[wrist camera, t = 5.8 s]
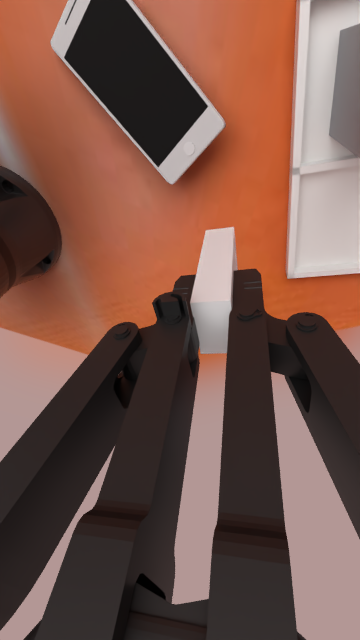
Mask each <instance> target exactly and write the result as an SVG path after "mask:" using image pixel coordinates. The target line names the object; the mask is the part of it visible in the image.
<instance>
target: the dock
mask: <svg viewBox="0 0 360 640" xmlns="http://www.w3.org/2000/svg"><path fill="white" fill-rule="evenodd" d="M354 273H360V0H297V3H296V28H295V52H294V77H293V102H292V127H291V151H290V176H289V201H288V225H287V250H286V275H287V279H290V278H303V277H316V276H328V275H341V274H354Z"/></svg>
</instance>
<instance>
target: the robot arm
mask: <svg viewBox="0 0 360 640" xmlns="http://www.w3.org/2000/svg"><path fill="white" fill-rule="evenodd" d="M61 245H62V241H61V233H60V229H59V225H58V222H57V220H56V218H55V216H54V214H53V212H52V210H51V208H50V207H49V205H48V204H47V202H46V201H45V200H44V198H43V197H42V196H41V195H40V194H39V192H38V191H37V190H36V189H35V188H34V187H33V186H32V185H30V184H29V183H28V182H27V181H26V180H24V179H23V178H22V177H20V176H19V175H17V174H16V173H14V172H12V171H11V170H9V169H7V168H4V167H2V166H0V298H1V297H2V296H3V295H4V294H5V293H6V292H7V291H8V290H9V289H10V288H11V287H13V286H16V285H18V284H21V283H24V282H26V281H29V280H31V279H34V278H37V277H39V276H41V275H43V274H44V273H46V272H47V271H48V270H50V268H51V267H52V266H53V265H54V264H55V263H56V261H57V260H58V258H59V255H60V252H61ZM152 304H153V307H154V310H155V313H156V317H157V322H156V324H154V325H151V326H148V327H145V328H141V329H138V326H137V325H136V324H135V323H131V322H124V323H120V324H117V325H116V326H114V327H112V328H111V329H110V330H109V331H108V332H107V333H106V335H105V336H104V337H103V338H102V339H101V341H100V342H99V343H98V344H97V345H96V347H95V348H94V349H93V350H92V352H91V353H90V354H89V355H88V357H87V358H86V359H85V360H84V361H83V363H82V364H81V365H80V366H79V367H78V369H77V370H76V371H75V372H74V373H73V375H72V376H71V377H70V378H69V379H68V381H67V382H66V383H65V384H64V386H63V387H62V388H61V389H60V390H59V392H58V393H57V394H56V395H55V397H54V398H53V399H52V400H51V401H50V403H49V404H48V405H47V406H46V407H45V409H44V410H43V411H42V412H41V414H40V415H39V416H38V417H37V418H36V419H35V421H34V422H33V423H32V424H31V426H30V427H29V428H28V429H27V430H26V432H25V433H24V434H23V435H22V437H21V438H20V439H19V440H18V442H17V443H16V444H15V445H14V446H13V447H12V449H11V450H10V451H9V452H8V454H7V455H6V456H5V457H4V458H3V460H2V461H1V462H0V630H1V629H2V628H3V627H4V626H5V624H6V623H7V622H8V621H9V619H10V618H11V617H12V616H13V615H14V613H15V612H16V610H17V609H18V608H19V606H20V605H21V604H22V602H23V601H24V599H25V598H26V597H27V595H28V594H29V592H30V591H31V589H32V588H33V586H34V584H35V583H36V581H37V579H38V578H39V576H40V575H41V573H42V571H43V570H44V568H45V566H46V564H47V563H48V561H49V559H50V558H51V556H52V554H53V552H54V551H55V549H56V547H57V545H58V544H59V542H60V540H61V538H62V537H63V535H64V533H65V531H66V530H67V528H68V526H69V524H70V523H71V521H72V519H73V518H74V516H75V514H76V512H77V511H78V509H79V507H80V505H81V504H82V502H83V500H84V498H85V497H86V495H87V493H88V491H89V490H90V488H91V486H92V484H93V483H94V481H95V479H96V477H97V476H98V474H99V472H100V470H101V469H102V467H103V465H104V464H105V462H106V460H107V458H108V456H109V455H110V453H111V451H112V450H113V448H114V446H115V449H114V452H113V455H112V458H111V461H110V464H109V467H108V470H107V473H106V476H105V479H104V482H103V485H102V488H101V491H100V494H99V497H98V500H97V502H96V504H95V506H94V507H93V509H92V510H90V511H89V512H87V513H85V514H84V515H83V516H82V517H81V519H80V520H79V522H78V523H77V525H76V528H75V530H74V532H73V534H72V538H71V540H70V543H69V546H68V548H67V551H66V554H65V557H64V560H63V562H62V565H61V568H60V571H59V573H58V576H57V579H56V582H55V584H54V587H53V590H52V593H51V596H50V598H49V601H48V604H47V607H46V610H45V612H44V615H43V618H42V620H41V621H40V622H39V623H38V624H37V625H36V626H35V627H34V629H33V630H32V631H31V632H30V633H29V634H28V635H27V636H26V637H25V639H24V640H306V639H305V638H304V637H302V635H301V634H299V633H298V632H297V629H296V618H295V608H294V598H293V587H292V577H291V566H290V557H289V548H288V541H287V536H286V530H285V522H284V511H283V500H282V490H281V480H280V467H279V457H278V446H277V435H276V424H275V414H274V402H273V392H272V380H271V372H275V373H279V374H282V375H285V379H286V381H287V383H288V385H289V388H290V390H291V392H292V394H293V396H294V398H295V401H296V403H297V405H298V407H299V409H300V411H301V413H302V416H303V418H304V420H305V422H306V424H307V426H308V429H309V431H310V433H311V435H312V437H313V439H314V442H315V443H316V446H317V448H318V450H319V452H320V454H321V456H322V459H323V461H324V463H325V465H326V467H327V470H328V472H329V474H330V476H331V478H332V480H333V483H334V485H335V487H336V489H337V491H338V493H339V495H340V498H341V500H342V502H343V504H344V506H345V508H346V511H347V513H348V515H349V517H350V519H351V521H352V523H353V526H354V528H355V530H356V532H357V534H358V536H359V539H360V364H359V363H358V361H357V360H356V359H355V357H354V356H353V355H352V353H351V352H350V351H349V349H348V348H347V347H346V345H345V344H344V343H343V342H342V340H341V339H340V338H339V337H338V335H337V334H336V332H335V331H334V330H333V328H332V327H331V326H330V324H329V323H328V322H327V320H325V319H324V318H323V317H322V316H320V315H317V314H315V313H308V312H304V313H297V314H294V315H292V316H291V317H290V318H288V320H287V321H286V320H281V319H277V318H274V317H272V316H270V315H269V314H267V313H266V311H265V309H264V303H263V292H262V282H261V274H260V273H259V272H258V271H257V270H256V269H246V270H238V269H237V257H236V245H235V233H234V227H229V228H221V229H213V230H206V232H205V237H204V242H203V246H202V251H201V255H200V260H199V264H198V269H197V273H196V275H186V276H181V277H180V278H179V279H178V280H177V281H176V282H175V285H174V288H173V291H172V292H168V293H164V294H162V295H159V296H158V297H157V298H155V299H154V301H153V302H152ZM199 348H200V352H201V354H213V353H227V363H226V380H225V399H224V416H223V434H222V453H221V472H220V489H219V506H218V507H219V508H218V520H217V525H216V528H215V531H214V537H213V546H212V559H211V575H210V590H209V599H207V600H201V601H195V602H190V603H184V604H177V605H175V604H171V603H172V596H173V588H174V579H175V557H174V546H175V537H176V530H177V522H178V515H179V508H180V501H181V494H182V487H183V479H184V472H185V465H186V458H187V451H188V443H189V436H190V429H191V421H192V414H193V407H194V400H195V392H196V385H197V378H198V371H199V364H200V363H199V356H198V350H199ZM120 372H121V373H120ZM115 444H116V445H115Z"/></svg>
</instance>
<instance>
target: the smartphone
mask: <svg viewBox="0 0 360 640" xmlns="http://www.w3.org/2000/svg"><path fill="white" fill-rule="evenodd" d="M51 46H52V48H53V50H54V51H55V52H56V54H57V55H58V56H59V57H60V58H61V59H62V61H63V62H64V63H65V64H66V65H67V66H68V67H69V69H70V70H71V71H72V72H73V73H74V74H75V76H76V77H77V78H78V79H79V80H80V81H81V83H82V84H83V85H84V86H85V87H86V88H87V89H88V91H89V92H90V93H91V94H92V95H93V96H94V98H95V99H96V100H97V101H98V102H99V103H100V105H101V106H102V107H103V108H104V109H105V110H106V112H107V113H108V114H109V115H110V116H111V117H112V118H113V120H114V121H115V122H116V123H117V124H118V125H119V127H120V128H121V129H122V130H123V131H124V132H125V134H126V135H127V136H128V137H129V138H130V139H131V140H132V142H133V143H134V144H135V145H136V146H137V147H138V149H139V150H140V151H141V152H142V153H143V154H144V156H145V157H146V158H147V159H148V160H149V161H150V162H151V164H152V165H153V166H154V167H155V168H156V169H157V171H158V172H159V173H160V174H161V175H162V176H163V178H164V179H165V180H166V181H167V182H168V183H170V184H174V183H176V182H177V181H178V179H179V178H180V177H181V176H182V175H183V174H184V173H185V172H186V170H187V169H188V168H189V167H190V166H191V165H192V164H193V163H194V162H195V160H196V159H197V158H198V157H199V156H200V155H201V154H202V153H203V151H204V150H205V149H206V148H207V147H208V146H209V145H210V144H211V142H212V141H213V140H214V139H215V138H216V137H217V136H218V135H219V134H220V132H221V131H222V130H223V129H224V128H225V126H226V124H225V121H224V119H223V117H222V116H221V115H220V113H219V112H218V111H217V110H216V108H215V107H214V106H213V104H212V103H211V102H210V100H209V99H208V98H207V97H206V95H205V94H204V93H203V91H202V90H201V89H200V87H199V86H198V85H197V84H196V82H195V81H194V80H193V78H192V77H191V76H190V74H189V73H188V72H187V71H186V69H185V68H184V67H183V65H182V64H181V63H180V61H179V60H178V59H177V58H176V56H175V55H174V54H173V52H172V51H171V50H170V48H169V47H168V46H167V45H166V43H165V42H164V41H163V39H162V38H161V37H160V35H159V34H158V33H157V32H156V30H155V29H154V28H153V26H152V25H151V24H150V22H149V21H148V20H147V19H146V17H145V16H144V15H143V13H142V12H141V11H140V9H139V8H138V7H137V6H136V4H135V3H134V2H133V0H68V2H67V4H66V7H65V9H64V11H63V14H62V16H61V18H60V21H59V23H58V25H57V28H56V30H55V32H54V35H53V37H52V39H51Z"/></svg>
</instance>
